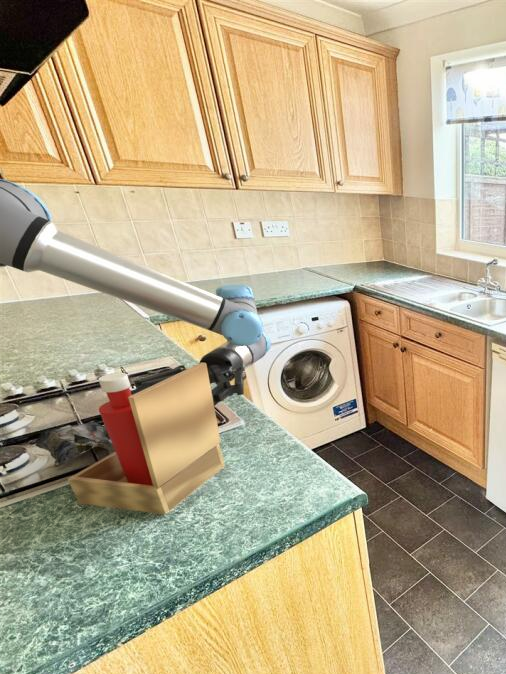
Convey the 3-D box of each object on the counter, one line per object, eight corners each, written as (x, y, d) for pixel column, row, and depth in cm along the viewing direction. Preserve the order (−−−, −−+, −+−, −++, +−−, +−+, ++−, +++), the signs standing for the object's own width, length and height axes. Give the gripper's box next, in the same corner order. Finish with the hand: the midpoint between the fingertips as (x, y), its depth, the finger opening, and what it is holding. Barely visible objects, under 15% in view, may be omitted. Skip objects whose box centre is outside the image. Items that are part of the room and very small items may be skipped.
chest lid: (127, 396, 60) (133, 397, 60) (201, 362, 72) (206, 362, 72) (153, 487, 67) (158, 488, 67) (216, 441, 79) (220, 442, 79)
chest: (80, 506, 70) (67, 479, 68) (152, 460, 83) (143, 435, 80) (167, 517, 69) (156, 489, 67) (226, 468, 81) (219, 443, 79)
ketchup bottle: (121, 491, 73) (75, 382, 64) (151, 470, 79) (113, 367, 70) (153, 495, 73) (111, 386, 64) (181, 474, 78) (146, 371, 69)
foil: (103, 468, 74) (32, 417, 74) (100, 499, 80) (33, 451, 79) (168, 433, 84) (106, 387, 84) (161, 463, 90) (102, 420, 89)
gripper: (284, 378, 100) (238, 423, 81) (173, 376, 98) (98, 422, 78) (279, 349, 97) (229, 389, 77) (164, 346, 94) (83, 386, 75)
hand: (163, 405), depth 78 cm, fingers open, 13 cm apart
